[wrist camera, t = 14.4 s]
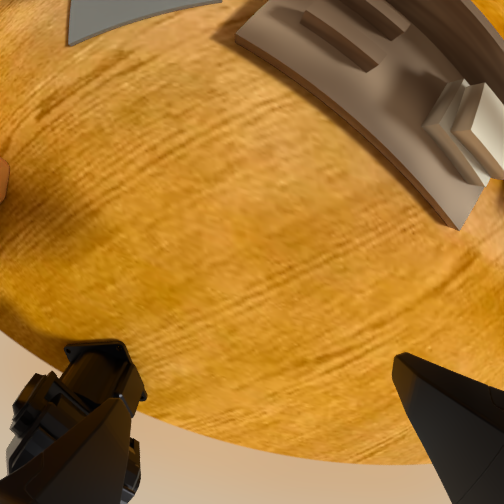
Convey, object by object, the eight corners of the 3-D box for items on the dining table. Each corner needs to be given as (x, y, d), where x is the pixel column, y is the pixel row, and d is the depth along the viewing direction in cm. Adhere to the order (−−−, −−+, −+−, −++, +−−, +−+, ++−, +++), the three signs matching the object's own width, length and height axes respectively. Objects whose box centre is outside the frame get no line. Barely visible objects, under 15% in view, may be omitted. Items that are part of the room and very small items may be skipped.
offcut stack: (468, 185, 18) (506, 192, 14) (421, 126, 17) (459, 121, 13) (491, 139, 17) (527, 140, 13) (448, 81, 16) (484, 71, 12)
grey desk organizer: (448, 226, 21) (510, 251, 14) (234, 42, 16) (236, -16, 9) (499, 131, 19) (556, 131, 11) (324, -39, 14) (351, -91, 7)
